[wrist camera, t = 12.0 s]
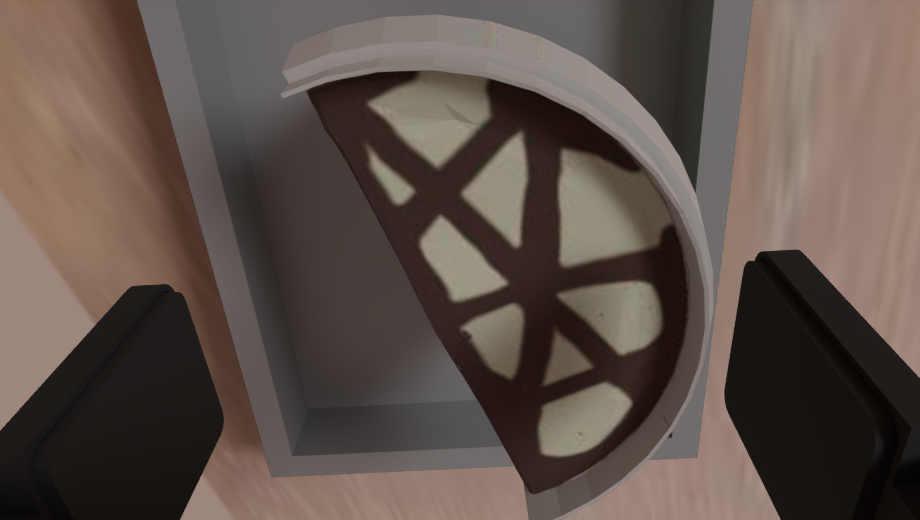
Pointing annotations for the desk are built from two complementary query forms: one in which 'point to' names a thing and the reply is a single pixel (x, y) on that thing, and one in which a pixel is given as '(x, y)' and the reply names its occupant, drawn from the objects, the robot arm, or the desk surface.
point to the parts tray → (358, 230)
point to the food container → (528, 234)
